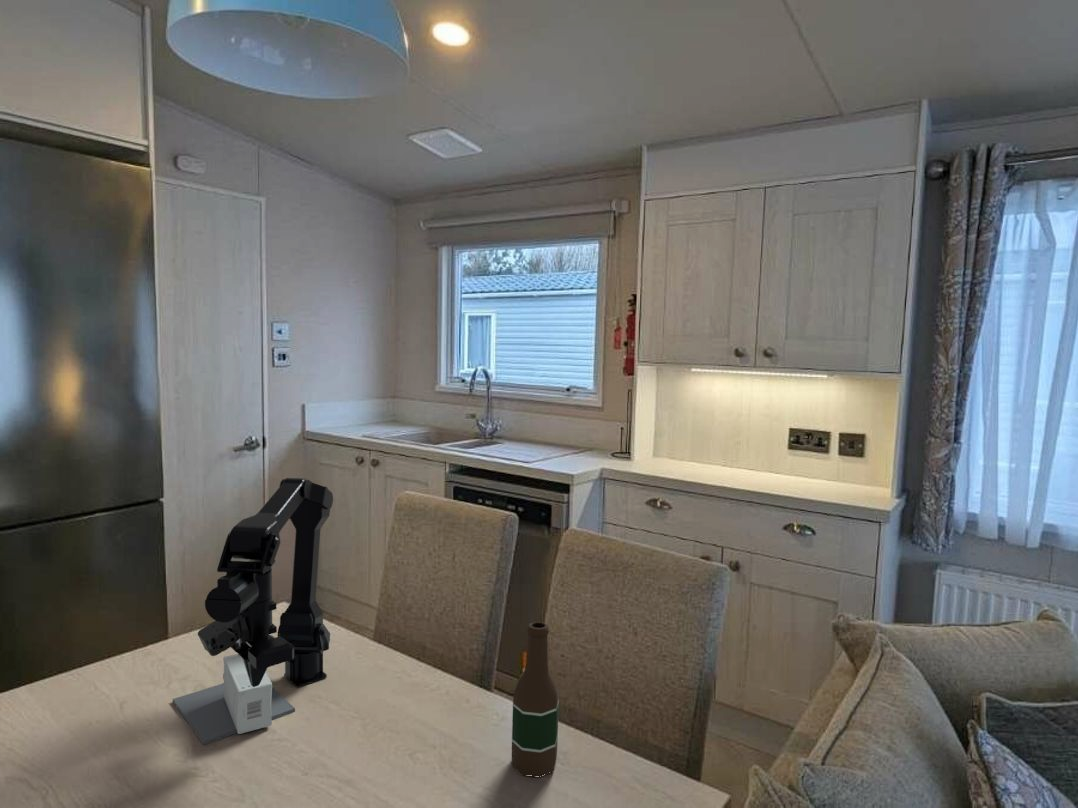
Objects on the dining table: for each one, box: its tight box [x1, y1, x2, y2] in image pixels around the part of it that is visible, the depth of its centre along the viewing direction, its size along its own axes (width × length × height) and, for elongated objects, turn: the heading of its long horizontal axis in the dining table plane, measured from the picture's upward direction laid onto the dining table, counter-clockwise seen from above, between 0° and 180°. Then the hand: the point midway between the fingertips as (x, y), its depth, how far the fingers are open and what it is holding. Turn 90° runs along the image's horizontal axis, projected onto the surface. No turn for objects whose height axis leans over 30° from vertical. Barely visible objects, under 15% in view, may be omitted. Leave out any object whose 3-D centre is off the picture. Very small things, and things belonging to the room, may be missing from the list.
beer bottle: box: [511, 621, 560, 778], centre depth 111 cm, size 8×8×24 cm
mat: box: [172, 682, 296, 745], centre depth 127 cm, size 16×18×1 cm
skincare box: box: [222, 653, 273, 735], centre depth 124 cm, size 8×6×15 cm
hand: (255, 685), depth 115 cm, fingers closed
